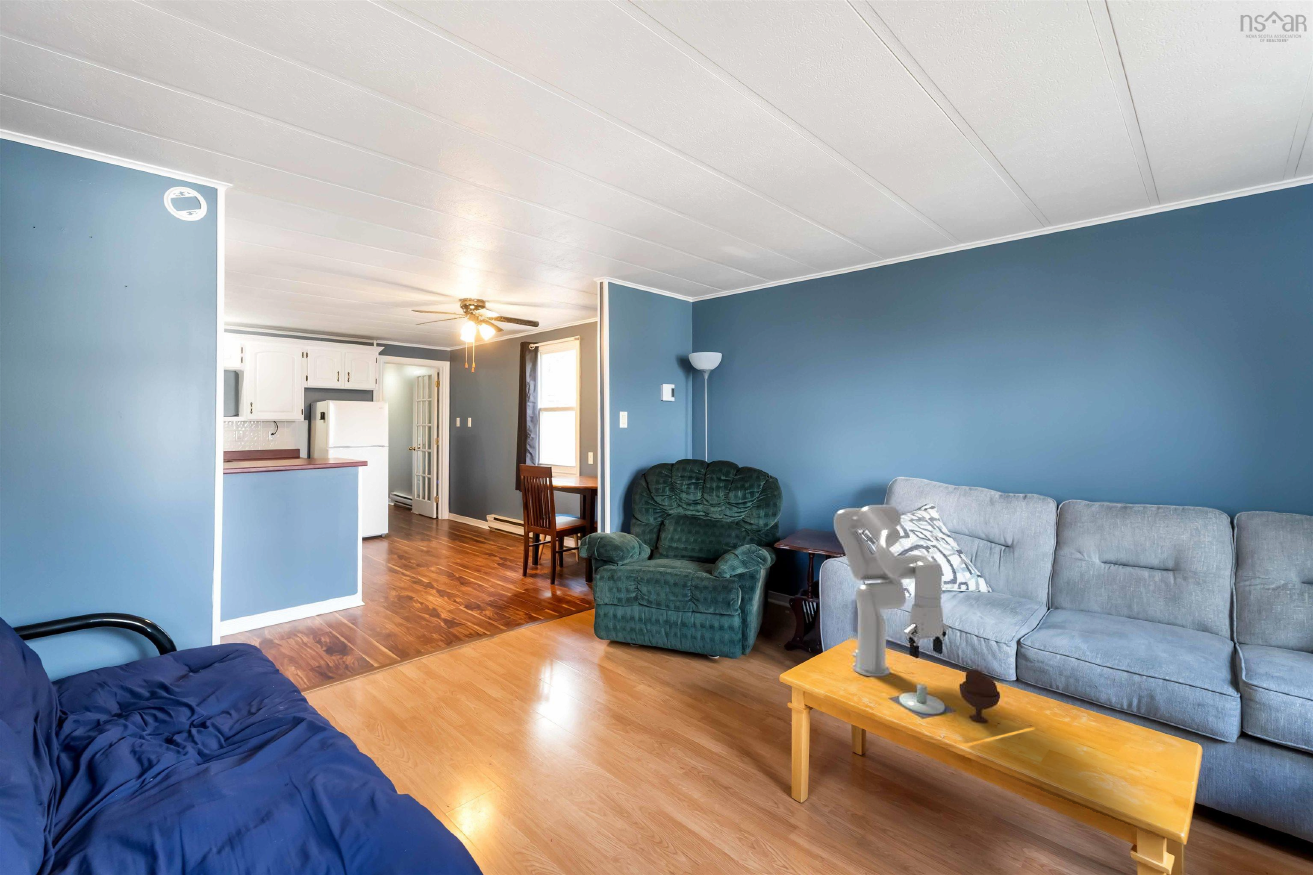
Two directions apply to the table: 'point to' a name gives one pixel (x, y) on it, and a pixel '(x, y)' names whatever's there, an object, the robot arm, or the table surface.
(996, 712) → the table surface
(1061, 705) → the table surface
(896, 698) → the mat
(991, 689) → the ice cream bowl
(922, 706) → the lid
